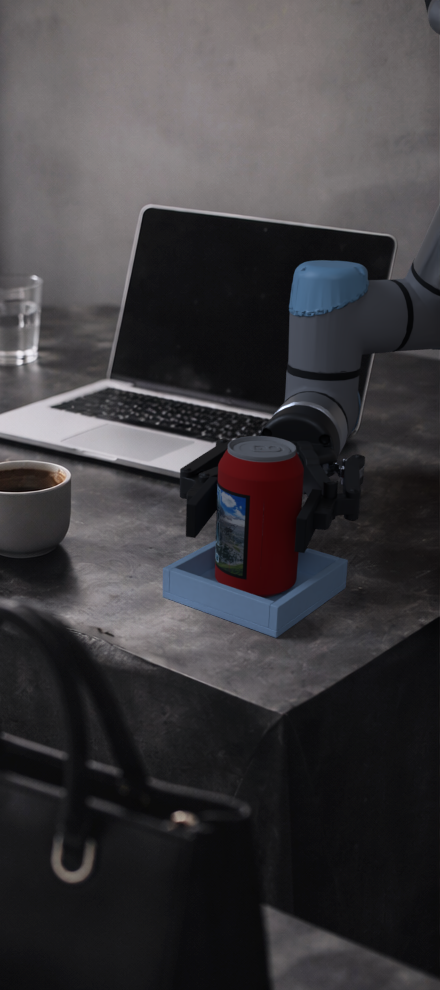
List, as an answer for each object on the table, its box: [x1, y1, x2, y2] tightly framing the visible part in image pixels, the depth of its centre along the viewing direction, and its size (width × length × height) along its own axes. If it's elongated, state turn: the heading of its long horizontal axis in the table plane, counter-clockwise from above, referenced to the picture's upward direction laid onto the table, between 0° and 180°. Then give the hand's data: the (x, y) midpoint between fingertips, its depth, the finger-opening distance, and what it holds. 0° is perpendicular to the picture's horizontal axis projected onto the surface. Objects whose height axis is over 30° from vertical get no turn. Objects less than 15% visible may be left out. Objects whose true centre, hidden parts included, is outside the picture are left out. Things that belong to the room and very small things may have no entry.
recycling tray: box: [162, 539, 349, 639], centre depth 80 cm, size 11×11×3 cm
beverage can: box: [215, 435, 304, 598], centre depth 78 cm, size 7×7×12 cm
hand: (244, 528), depth 73 cm, fingers open, 8 cm apart
